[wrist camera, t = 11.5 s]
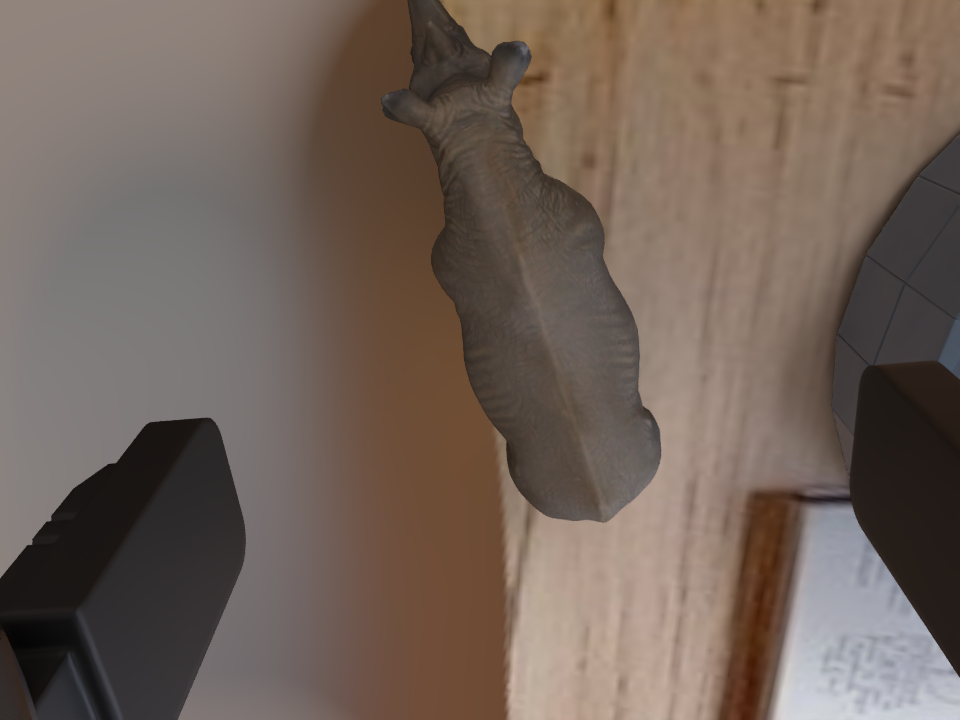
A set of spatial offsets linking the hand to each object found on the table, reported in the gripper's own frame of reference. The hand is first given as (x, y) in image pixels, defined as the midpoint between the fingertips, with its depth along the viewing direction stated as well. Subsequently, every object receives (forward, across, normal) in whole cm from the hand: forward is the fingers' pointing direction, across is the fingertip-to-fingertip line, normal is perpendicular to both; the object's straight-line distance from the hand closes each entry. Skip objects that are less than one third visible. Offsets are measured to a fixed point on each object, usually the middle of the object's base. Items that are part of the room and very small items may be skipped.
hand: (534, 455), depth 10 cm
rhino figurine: (+13, 0, +1) cm, 13 cm away
